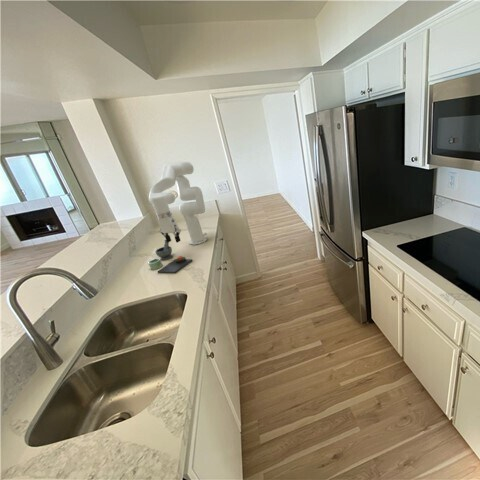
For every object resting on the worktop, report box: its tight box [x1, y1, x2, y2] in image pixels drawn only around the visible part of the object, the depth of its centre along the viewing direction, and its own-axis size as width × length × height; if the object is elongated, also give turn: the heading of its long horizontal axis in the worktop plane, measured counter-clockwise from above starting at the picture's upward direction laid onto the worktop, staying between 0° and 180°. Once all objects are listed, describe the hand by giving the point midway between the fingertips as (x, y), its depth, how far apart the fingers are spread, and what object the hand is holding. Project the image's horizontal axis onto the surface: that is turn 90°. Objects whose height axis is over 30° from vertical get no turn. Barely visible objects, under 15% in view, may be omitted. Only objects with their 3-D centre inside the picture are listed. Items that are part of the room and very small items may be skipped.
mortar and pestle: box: [155, 239, 173, 261], centre depth 184 cm, size 11×9×12 cm
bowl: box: [147, 257, 163, 270], centre depth 172 cm, size 7×7×5 cm
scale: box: [157, 256, 193, 274], centre depth 170 cm, size 16×13×3 cm
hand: (173, 241), depth 169 cm, fingers open, 6 cm apart
